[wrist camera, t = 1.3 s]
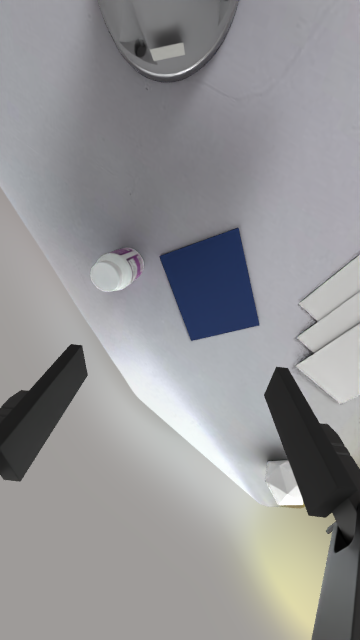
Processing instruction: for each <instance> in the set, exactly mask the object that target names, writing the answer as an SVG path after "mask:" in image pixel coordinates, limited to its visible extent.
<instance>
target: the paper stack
mask: <svg viewBox="0 0 360 640" xmlns="http://www.w3.org/2000/svg"><path fill="white" fill-rule="evenodd" d="M299 305H300V306H301V307H303V308H304V309H305V310H306V311H307V312H308V313H309V314H310V315H311V316H312V317H313V318H314V319H315V320H316V321H317V323H316V324H314V325H313V326H312V327H310V328H309V329H308V330H306V331H305V332H303V333H302V334H301V335H299V336H298V337H297V338H298V339H299V340H300V341H301V342H302V343H303V344H304V345H305V346H307V347H308V348H309V349H310V350H311V351H312V352H313V353H314V354H313V355H311V356H310V357H308V358H307V359H305V360H304V361H302V362H301V363H299V364H298V365H296V367H297V368H298V369H299V370H301V371H302V372H303V373H304V374H305V375H307V376H308V377H309V378H310V379H311V380H312V381H314V382H315V383H316V384H317V385H318V386H319V387H321V388H322V389H323V390H324V391H325V392H327V393H328V394H329V395H330V396H331V397H332V398H334V399H335V400H336V401H337V402H338V403H340V404H343V403H345V402H347V401H349V400H351V399H353V398H355V397H357V396H359V395H360V255H359V256H357V257H356V258H355V259H354V260H352V261H351V262H350V263H349V264H347V265H346V266H345V267H344V268H342V269H341V270H340V271H339V272H338V273H336V274H335V275H334V276H333V277H331V278H330V279H329V280H328V281H326V282H325V283H324V284H323V285H321V286H320V287H319V288H318V289H316V290H315V291H314V292H313V293H311V294H310V295H309V296H308V297H306V298H305V299H304V300H303V301H302V302H300V303H299Z"/></svg>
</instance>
